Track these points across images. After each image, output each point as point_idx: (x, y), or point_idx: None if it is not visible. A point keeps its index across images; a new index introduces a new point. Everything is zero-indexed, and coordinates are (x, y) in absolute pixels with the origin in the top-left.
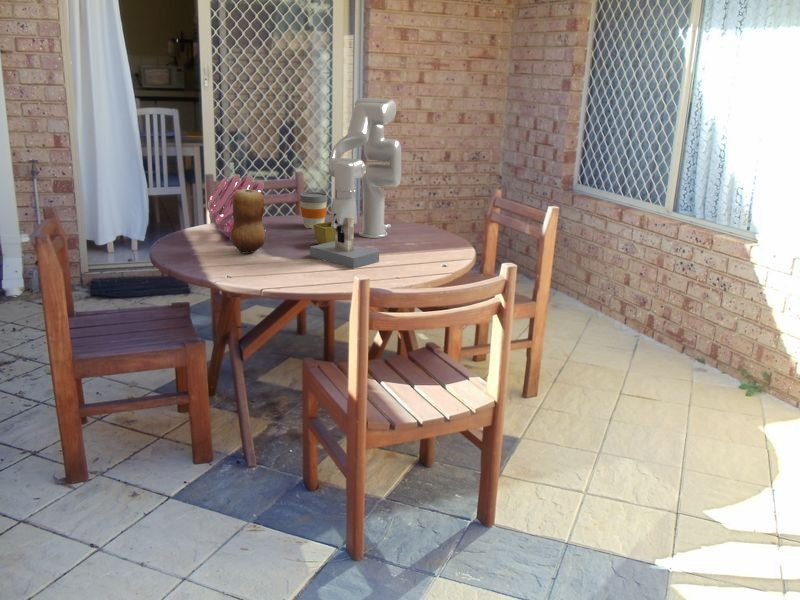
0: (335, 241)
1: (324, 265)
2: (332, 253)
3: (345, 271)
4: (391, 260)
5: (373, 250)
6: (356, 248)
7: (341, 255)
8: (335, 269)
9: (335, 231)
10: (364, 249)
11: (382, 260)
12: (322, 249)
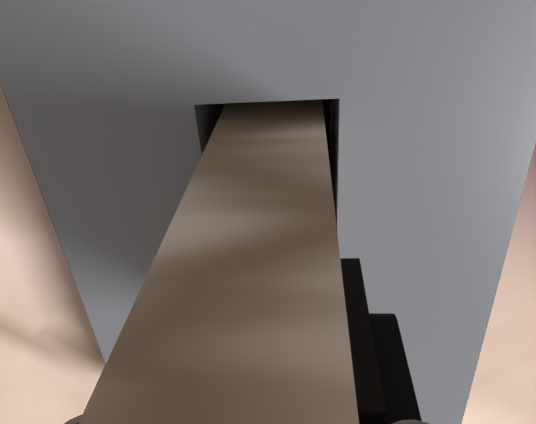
0: (193, 178)
1: (3, 210)
2: (69, 247)
3: (78, 383)
4: (522, 409)
5: (456, 421)
6: (405, 297)
7: (104, 351)
8: (38, 326)
9: (135, 307)
10: (430, 363)
11: (480, 377)
12: (10, 67)
